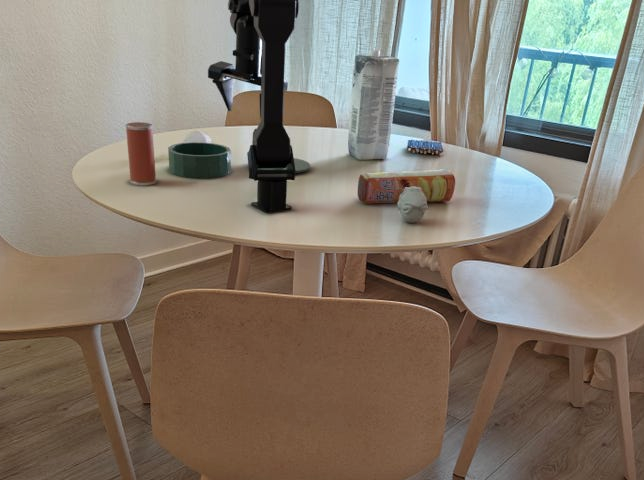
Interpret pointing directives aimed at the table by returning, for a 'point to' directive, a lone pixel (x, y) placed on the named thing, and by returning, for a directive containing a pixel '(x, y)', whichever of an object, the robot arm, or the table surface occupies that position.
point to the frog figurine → (412, 204)
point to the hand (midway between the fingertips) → (246, 115)
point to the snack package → (405, 185)
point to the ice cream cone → (196, 137)
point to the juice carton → (372, 105)
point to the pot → (199, 160)
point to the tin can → (141, 153)
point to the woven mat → (425, 146)
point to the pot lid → (296, 166)
